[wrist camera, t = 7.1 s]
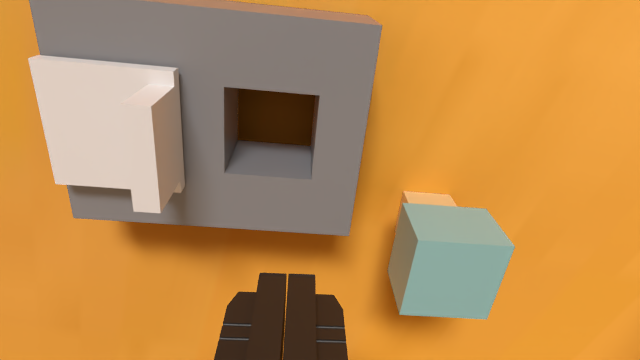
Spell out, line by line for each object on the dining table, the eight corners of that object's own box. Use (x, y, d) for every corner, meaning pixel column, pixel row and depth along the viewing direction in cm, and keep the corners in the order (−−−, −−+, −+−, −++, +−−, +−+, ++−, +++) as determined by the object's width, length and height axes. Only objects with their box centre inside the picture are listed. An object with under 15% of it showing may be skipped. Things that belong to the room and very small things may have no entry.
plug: (466, 183, 29) (515, 246, 22) (448, 245, 31) (486, 319, 25) (391, 177, 28) (418, 240, 22) (379, 240, 31) (399, 314, 24)
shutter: (178, 67, 19) (149, 89, 16) (184, 185, 22) (161, 226, 19) (38, 54, 19) (-24, 74, 15) (63, 177, 22) (16, 216, 18)
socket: (367, 15, 24) (382, 25, 19) (342, 195, 29) (348, 235, 25) (82, -15, 22) (26, -12, 18) (110, 178, 28) (73, 217, 23)
